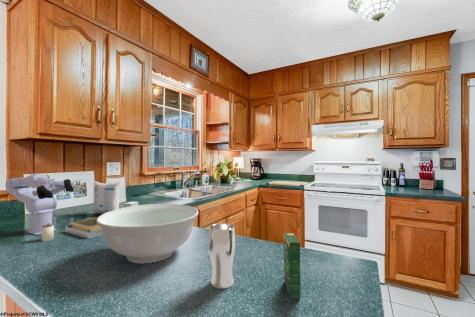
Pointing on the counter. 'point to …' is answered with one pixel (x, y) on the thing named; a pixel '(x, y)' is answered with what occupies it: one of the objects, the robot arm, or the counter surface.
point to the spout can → (47, 232)
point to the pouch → (106, 197)
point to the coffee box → (292, 265)
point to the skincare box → (130, 204)
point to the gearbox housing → (85, 228)
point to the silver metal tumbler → (222, 254)
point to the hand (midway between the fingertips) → (62, 192)
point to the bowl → (147, 230)
